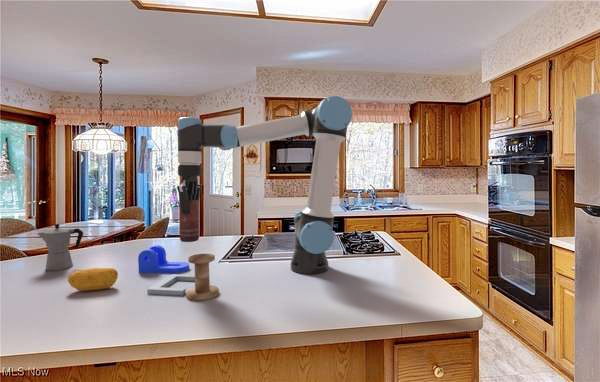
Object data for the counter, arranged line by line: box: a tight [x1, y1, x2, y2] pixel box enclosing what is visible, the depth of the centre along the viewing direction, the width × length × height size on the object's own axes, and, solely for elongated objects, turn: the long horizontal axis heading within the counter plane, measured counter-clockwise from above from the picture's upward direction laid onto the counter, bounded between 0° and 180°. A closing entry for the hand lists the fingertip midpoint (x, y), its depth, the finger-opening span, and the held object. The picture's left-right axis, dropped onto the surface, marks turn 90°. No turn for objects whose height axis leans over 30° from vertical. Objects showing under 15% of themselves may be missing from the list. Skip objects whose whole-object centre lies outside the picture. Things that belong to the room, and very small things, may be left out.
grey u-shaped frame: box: [146, 273, 195, 296], centre depth 111 cm, size 12×15×2 cm
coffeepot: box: [36, 223, 84, 272], centre depth 133 cm, size 15×9×18 cm, turn 113°
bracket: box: [137, 244, 190, 274], centre depth 130 cm, size 18×8×9 cm, turn 86°
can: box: [179, 200, 200, 243], centre depth 111 cm, size 6×6×14 cm
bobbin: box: [185, 253, 220, 302], centre depth 104 cm, size 10×10×12 cm
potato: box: [67, 267, 119, 291], centre depth 109 cm, size 7×14×7 cm, turn 98°
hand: (190, 233), depth 111 cm, fingers closed
